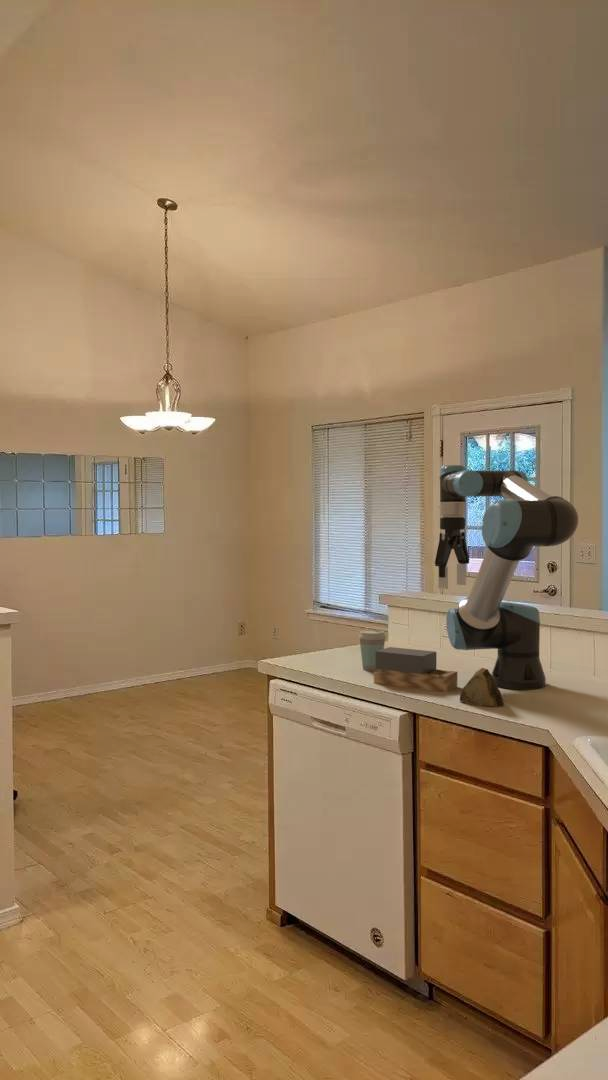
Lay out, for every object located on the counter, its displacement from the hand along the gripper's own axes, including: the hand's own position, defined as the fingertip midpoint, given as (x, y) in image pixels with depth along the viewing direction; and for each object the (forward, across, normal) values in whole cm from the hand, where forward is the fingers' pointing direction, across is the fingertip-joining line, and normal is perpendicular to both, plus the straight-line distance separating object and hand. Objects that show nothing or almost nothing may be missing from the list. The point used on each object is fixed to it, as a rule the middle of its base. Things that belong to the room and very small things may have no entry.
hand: (452, 586), depth 259 cm
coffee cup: (+27, +7, -24) cm, 37 cm away
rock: (+27, +32, +22) cm, 47 cm away
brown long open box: (+27, +21, -2) cm, 34 cm away
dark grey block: (+26, +21, -5) cm, 33 cm away
